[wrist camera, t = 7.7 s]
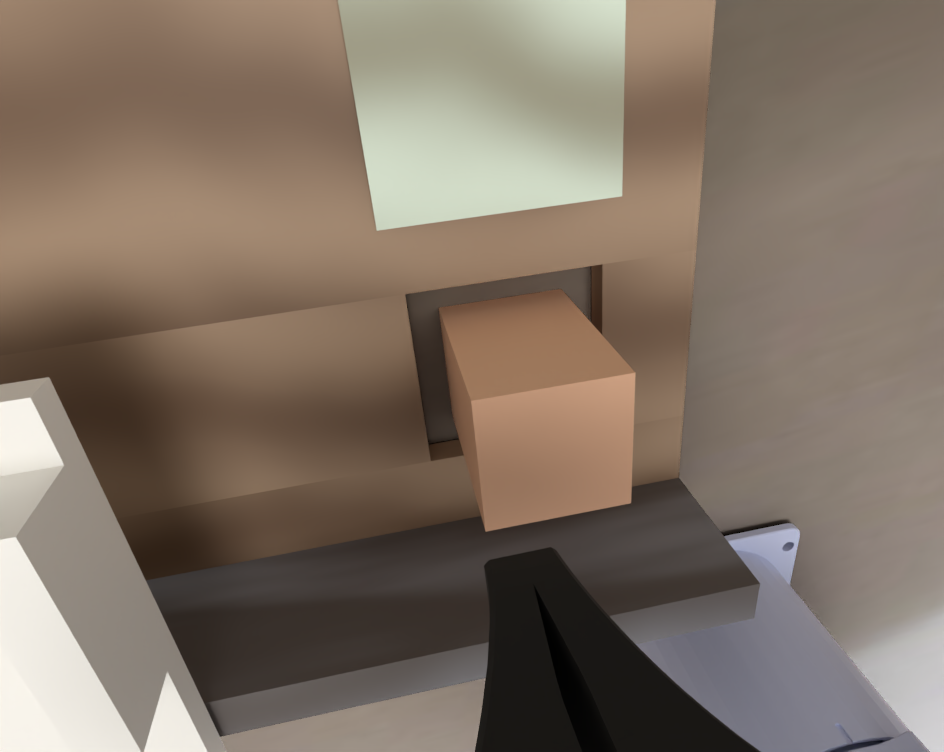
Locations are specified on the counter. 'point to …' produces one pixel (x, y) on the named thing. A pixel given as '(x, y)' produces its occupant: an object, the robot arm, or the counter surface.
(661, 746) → the robot arm
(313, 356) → the board
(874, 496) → the counter surface
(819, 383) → the counter surface
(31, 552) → the cover
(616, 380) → the block
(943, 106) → the counter surface
